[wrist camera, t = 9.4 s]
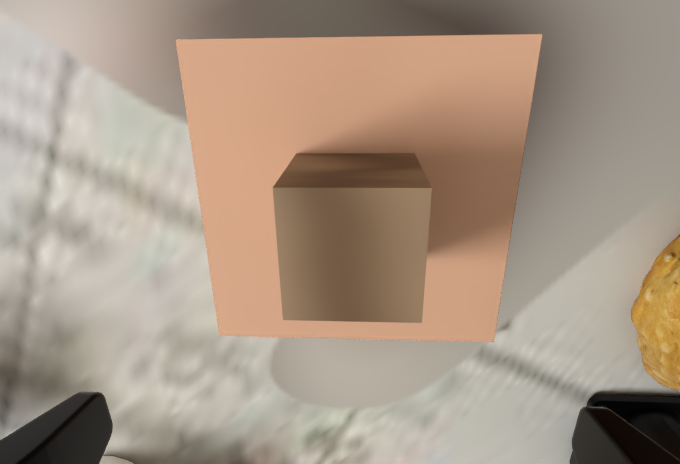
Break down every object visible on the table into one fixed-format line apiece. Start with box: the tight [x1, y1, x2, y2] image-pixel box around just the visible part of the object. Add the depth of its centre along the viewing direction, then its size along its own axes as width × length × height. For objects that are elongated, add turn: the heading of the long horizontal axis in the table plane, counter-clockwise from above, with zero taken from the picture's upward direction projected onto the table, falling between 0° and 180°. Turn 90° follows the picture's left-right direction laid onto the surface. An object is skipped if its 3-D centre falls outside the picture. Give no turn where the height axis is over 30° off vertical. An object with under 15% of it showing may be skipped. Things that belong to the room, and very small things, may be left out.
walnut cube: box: [273, 153, 432, 323], centre depth 16 cm, size 5×5×5 cm
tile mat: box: [176, 34, 542, 342], centre depth 19 cm, size 14×14×1 cm
